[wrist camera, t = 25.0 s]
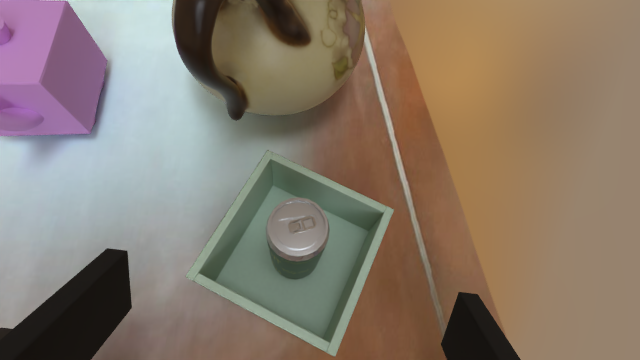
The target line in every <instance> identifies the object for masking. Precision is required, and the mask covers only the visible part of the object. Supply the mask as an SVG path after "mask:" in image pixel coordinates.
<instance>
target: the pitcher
mask: <svg viewBox="0 0 640 360" xmlns="http://www.w3.org/2000/svg"><path fill="white" fill-rule="evenodd" d="M172 27H173V33H174V38H175V42H176V46H177V49H178V52H179V54H180V57H181V59H182V61H183V63H184V64H185V66H186V68H187V69H188V70H189V72H190V73H191V74H192V75H193V76H194V78H195V79H196V80H197V81H198V82H199V83H200V84H201V85H202V86H203V87H204V88H205V89H206V90H207V91H208V92H210V93H211V94H212V95H214V96H215V97H217V98H218V99H220V100H221V101H223V102H225V103H226V104H227V110H228V114H229V116H230V117H231V118H232V119H233V120H236V121H237V120H239V119H241V118H242V116H243V114H244V112H248V113H254V114H261V115H272V116H278V115H289V114H295V113H299V112H303V111H306V110H308V109H311V108H313V107H315V106H317V105H319V104H321V103H322V102H324V101H325V100H327V99H328V98H330V97H331V96H332V95H333V94H334V93H335V92H337V91H338V90H339V89H340V88H341V86H342V85H343V84H344V83H345V82H346V80H347V79H348V78H349V76H350V75H351V73H352V72H353V70H354V68H355V66H356V64H357V62H358V60H359V57H360V55H361V51H362V48H363V43H364V35H365V18H364V11H363V6H362V2H361V0H173V6H172Z"/></svg>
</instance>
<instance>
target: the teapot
mask: <svg viewBox="0 0 640 360" xmlns="http://www.w3.org/2000/svg"><path fill="white" fill-rule="evenodd" d="M106 65H107V59H106V58H105V56H104V55H103V53H102V52H101V50H100V49H99V47H98V46H97V44H96V43H95V41H94V40H93V38H92V37H91V35H90V34H89V32H88V31H87V30H86V28H85V27H84V25H83V24H82V22H81V21H80V19H79V18H78V16H77V15H76V13H75V12H74V10H73V9H72V7H71V6H70V4H69V3H68V1H49V0H0V136H22V135H57V134H91V130H92V126H93V125H94V124H95V122H96V119H95V113H96V109H97V104H98V100H99V96H100V91H101V89H102V88H103V86H104V81H103V78H104V74H105V69H106Z"/></svg>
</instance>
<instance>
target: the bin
mask: <svg viewBox="0 0 640 360" xmlns="http://www.w3.org/2000/svg"><path fill="white" fill-rule="evenodd" d="M297 197H300V198H306V199H309V200H311V201H313V202H315V203H317V204H318V205H319V206H320V207H321V208H322V209H323V211H324V213H325V215H326V216H327V219H328V222H329V227H330V232H329V239H328V242H327V244H326V246H325V248H324V251H323V253H322V255H321V257H320V260H319V262H318V264H317V266H316V268H315V269H314V270H313V272H312V273H311V274H310V275H308V276H306V277H304V278H300V279H290V278H286V277H284V276H283V275H281V274H280V273H279V272H278V271H277V270H276V269H275V267H274V265H273V263H272V259H271V255H270V251H269V247H268V243H267V238H266V224H267V220H268V218H269V216H270V214H271V213H272V211H273V210H274V208H275V207H276V206H277V205H279V204H280V203H281V202H283V201H285V200H287V199H289V198H297ZM393 211H394V209H392V208H389V207H386V206H385V205H383V204H381V203H379V202H376V201H374V200H372V199H370V198H368V197H366V196H364V195H362V194H360V193H357V192H355V191H353V190H351V189H349V188H347V187H345V186H343V185H340V184H338V183H336V182H334V181H332V180H330V179H328V178H326V177H323V176H321V175H319V174H317V173H315V172H313V171H311V170H309V169H307V168H304V167H302V166H300V165H298V164H296V163H294V162H292V161H290V160H287V159H285V158H283V157H281V156H279V155H277V154H275V153H273V152H271V151H269V150H267V152H266V153H265V155H264V156H263V158H262V159H261V161H260V162H259V164H258V166H257V167H256V169H255V170H254V172H253V173H252V175H251V176H250V178H249V179H248V181H247V183H246V184H245V186H244V187H243V189H242V190H241V192H240V193H239V195H238V196H237V198H236V199H235V201H234V203H233V204H232V206H231V207H230V209H229V210H228V212H227V213H226V215H225V216H224V218H223V220H222V221H221V223H220V224H219V226H218V227H217V229H216V230H215V232H214V233H213V235H212V237H211V238H210V240H209V241H208V243H207V244H206V246H205V247H204V249H203V250H202V252H201V254H200V255H199V257H198V258H197V260H196V261H195V263H194V264H193V266H192V267H191V269H190V270H189V272H188V274H187V275H186V277H187V278H188V279H190V280H192V281H194V282H196V283H198V284H200V285H202V286H203V287H205V288H207V289H209V290H211V291H213V292H215V293H216V294H218V295H220V296H222V297H224V298H226V299H228V300H230V301H231V302H233V303H235V304H237V305H239V306H241V307H243V308H244V309H246V310H248V311H250V312H252V313H254V314H256V315H258V316H259V317H261V318H263V319H265V320H267V321H269V322H271V323H272V324H274V325H276V326H278V327H280V328H282V329H284V330H285V331H287V332H289V333H291V334H293V335H295V336H297V337H299V338H300V339H302V340H304V341H306V342H308V343H310V344H312V345H313V346H315V347H317V348H319V349H321V350H323V351H325V352H327V353H328V354H330V355H332V356H334V357H335V355H336V353H337V350H338V348H339V345H340V343H341V340H342V338H343V336H344V333H345V331H346V328H347V326H348V323H349V321H350V318H351V316H352V313H353V311H354V308H355V306H356V303H357V301H358V298H359V296H360V293H361V291H362V288H363V286H364V283H365V281H366V278H367V276H368V273H369V271H370V268H371V266H372V263H373V261H374V258H375V256H376V253H377V251H378V248H379V246H380V243H381V241H382V238H383V236H384V233H385V231H386V228H387V226H388V223H389V221H390V218H391V216H392V213H393Z"/></svg>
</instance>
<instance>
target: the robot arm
mask: <svg viewBox="0 0 640 360" xmlns="http://www.w3.org/2000/svg"><path fill="white" fill-rule="evenodd" d="M131 308H132V305H131V293H130V280H129V267H128V254H127V251H124V250H116V249H108V248H107V249H106V250H105V251H104V252H102V253H101V254H100V255H99V256H98V257H97V258H95V259H94V260H93V261H92V262H91V263H90V264H88V265H87V266H86V267H85V268H84V269H83V270H81V271H80V272H79V273H78V274H77V275H76V276H74V277H73V278H72V279H71V280H70V281H69V282H67V283H66V284H65V285H64V286H63V287H62V288H60V289H59V290H58V291H57V292H56V293H55V294H53V295H52V296H51V297H50V298H49V299H48V300H46V301H45V302H44V303H43V304H42V305H41V306H39V307H38V308H37V309H36V310H35V311H33V312H32V313H31V314H30V315H29V316H28V317H26V318H25V319H24V320H23V321H22V322H21V323H19V324H18V325H17V326H16V327H15V328H14V329H8V328H0V360H91V359H92V358H93V356H94V355H95V354H96V352H97V351H98V350H99V349H100V347H101V346H102V345H103V344H104V342H105V341H106V340H107V338H108V337H109V336H110V335H111V333H112V332H113V331H114V330H115V328H116V327H117V326H118V325H119V323H120V322H121V321H122V319H123V318H124V317H125V316H126V314H127V313H128V312H129V311H130V309H131ZM441 346H442V348H443V351H444V353H445V356H446V358H447V360H520V358H519V357H518V355H517V354H516V352H515V351H514V349H513V348H512V346H511V344H510V343H509V341H508V340H507V338H506V337H505V335H504V334H503V332H502V331H501V329H500V328H499V326H498V325H497V323H496V322H495V320H494V318H493V317H492V315H491V314H490V312H489V311H488V309H487V308H486V306H485V305H484V303H483V302H482V300H481V299H480V297H479V296H478V294H471V293H463V292H459V293H458V296H457V299H456V302H455V305H454V308H453V311H452V314H451V317H450V320H449V322H448V325H447V328H446V331H445V334H444V337H443V340H442V343H441Z"/></svg>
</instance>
